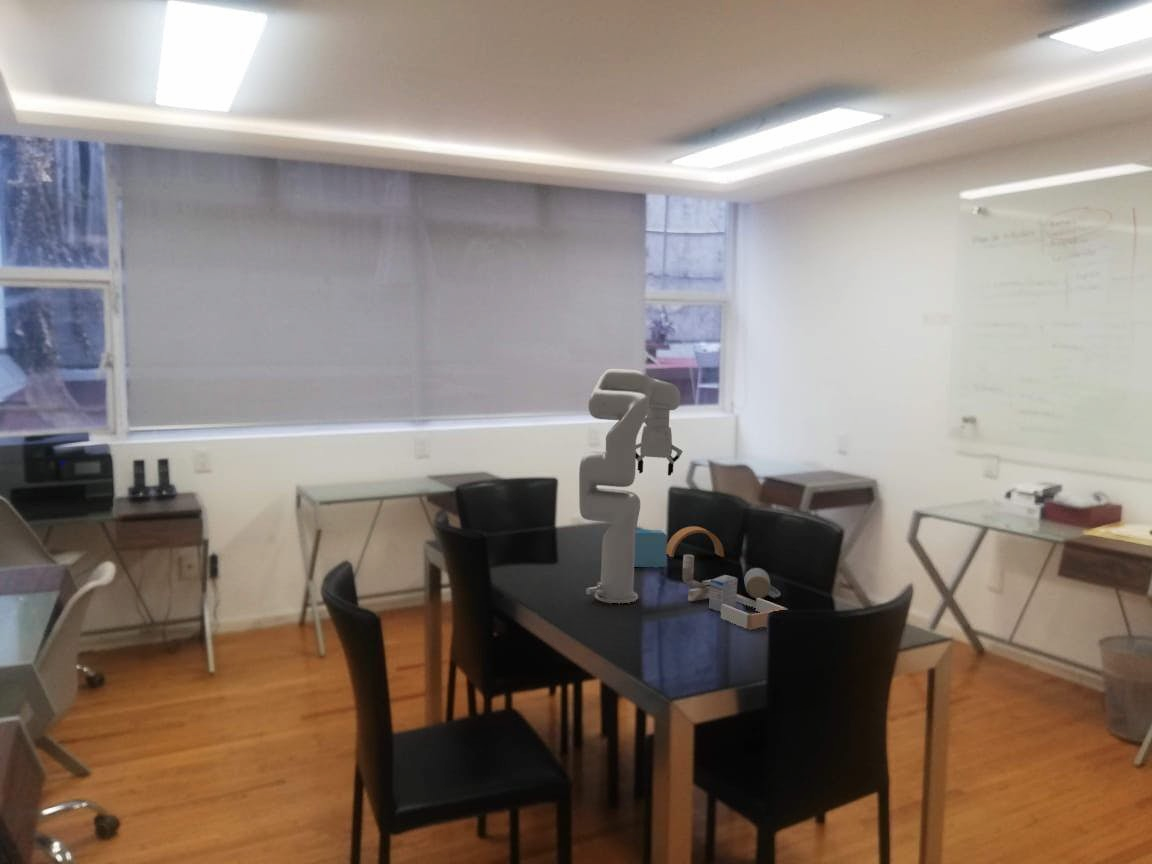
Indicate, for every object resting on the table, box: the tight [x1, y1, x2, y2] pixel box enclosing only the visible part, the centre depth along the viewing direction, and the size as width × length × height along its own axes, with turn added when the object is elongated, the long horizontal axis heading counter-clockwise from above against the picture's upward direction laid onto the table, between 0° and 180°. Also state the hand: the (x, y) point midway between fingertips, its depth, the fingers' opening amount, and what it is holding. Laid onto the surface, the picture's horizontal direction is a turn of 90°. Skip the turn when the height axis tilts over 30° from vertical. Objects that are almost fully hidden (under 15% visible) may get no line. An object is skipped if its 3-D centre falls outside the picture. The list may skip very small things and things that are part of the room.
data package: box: [634, 529, 668, 568], centre depth 290 cm, size 12×4×12 cm, turn 97°
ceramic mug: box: [743, 567, 781, 599], centre depth 261 cm, size 11×8×8 cm
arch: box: [666, 525, 725, 558], centre depth 308 cm, size 6×20×10 cm, turn 105°
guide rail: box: [736, 593, 756, 609], centre depth 255 cm, size 2×20×2 cm, turn 33°
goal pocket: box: [720, 598, 789, 629], centre depth 237 cm, size 14×11×4 cm
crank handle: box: [681, 554, 712, 602], centre depth 259 cm, size 16×11×11 cm
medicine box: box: [708, 574, 738, 613], centre depth 248 cm, size 8×4×9 cm, turn 141°
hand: (655, 473), depth 292 cm, fingers open, 9 cm apart
